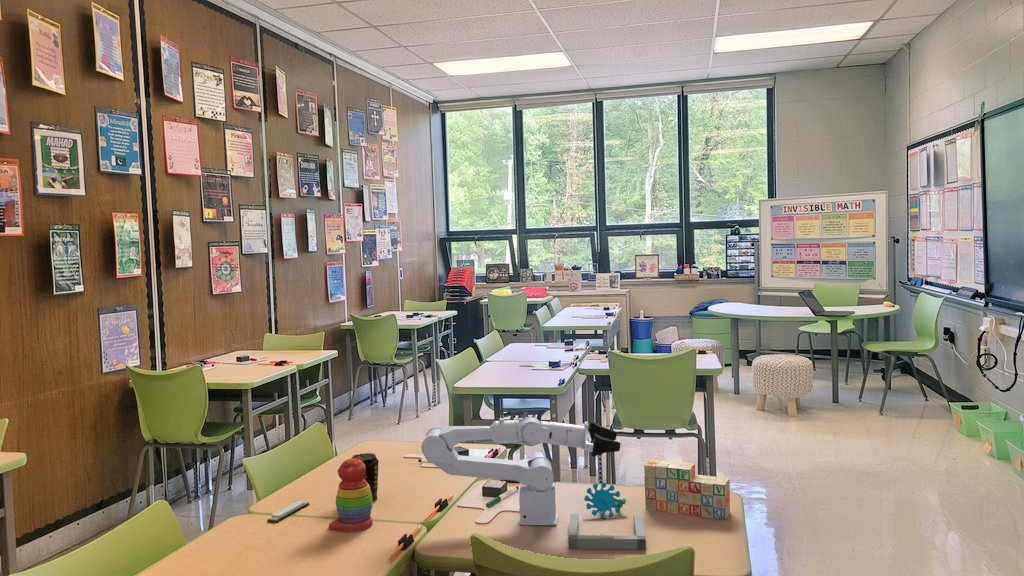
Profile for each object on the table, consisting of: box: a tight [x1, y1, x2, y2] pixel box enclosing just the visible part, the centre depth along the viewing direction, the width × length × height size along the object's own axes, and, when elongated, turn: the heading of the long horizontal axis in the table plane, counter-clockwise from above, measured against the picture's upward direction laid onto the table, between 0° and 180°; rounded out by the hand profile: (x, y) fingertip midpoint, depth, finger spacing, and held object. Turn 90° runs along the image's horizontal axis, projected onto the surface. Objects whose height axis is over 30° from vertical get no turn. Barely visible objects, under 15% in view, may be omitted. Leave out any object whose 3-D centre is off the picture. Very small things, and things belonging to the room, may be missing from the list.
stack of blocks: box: [643, 458, 731, 520], centre depth 195 cm, size 21×6×12 cm, turn 62°
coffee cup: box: [351, 452, 380, 503], centre depth 211 cm, size 9×8×13 cm
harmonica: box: [267, 500, 311, 524], centre depth 203 cm, size 15×3×2 cm, turn 160°
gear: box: [584, 481, 627, 520], centre depth 196 cm, size 11×6×10 cm
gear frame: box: [567, 513, 647, 551], centre depth 180 cm, size 18×16×3 cm
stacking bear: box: [328, 457, 374, 533], centre depth 192 cm, size 11×10×18 cm
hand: (618, 441), depth 191 cm, fingers open, 7 cm apart
